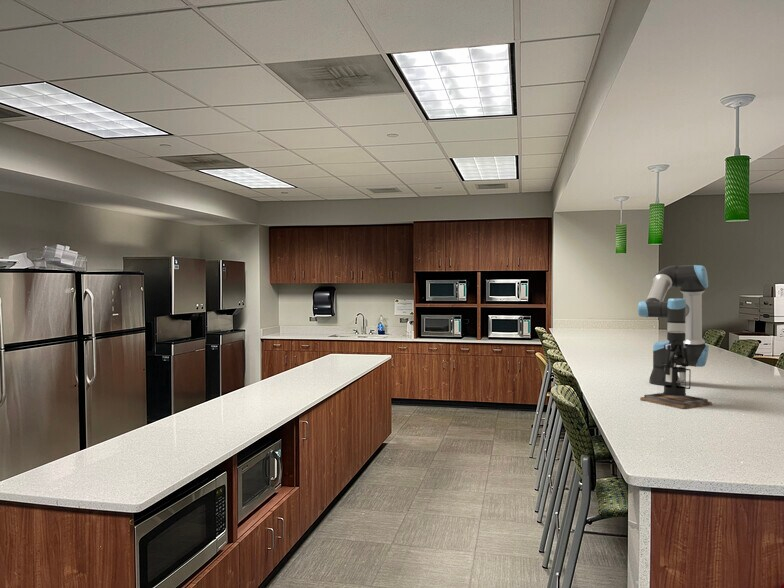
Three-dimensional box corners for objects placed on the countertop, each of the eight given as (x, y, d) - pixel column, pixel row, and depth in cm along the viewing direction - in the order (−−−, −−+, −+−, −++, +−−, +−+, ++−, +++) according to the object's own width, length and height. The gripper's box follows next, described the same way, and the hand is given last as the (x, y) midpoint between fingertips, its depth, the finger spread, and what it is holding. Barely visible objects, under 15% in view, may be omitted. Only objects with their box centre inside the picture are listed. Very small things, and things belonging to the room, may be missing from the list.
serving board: (668, 396, 280) (668, 391, 280) (711, 404, 260) (712, 399, 260) (640, 400, 270) (640, 394, 270) (683, 409, 251) (683, 403, 251)
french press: (660, 394, 264) (661, 344, 264) (662, 391, 272) (663, 342, 272) (689, 397, 258) (690, 345, 258) (690, 393, 267) (691, 343, 266)
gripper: (684, 330, 273) (683, 378, 273) (653, 332, 263) (652, 381, 263) (698, 331, 266) (698, 380, 267) (667, 333, 256) (667, 384, 257)
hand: (675, 380), depth 265 cm, fingers closed on french press, 9 cm apart
